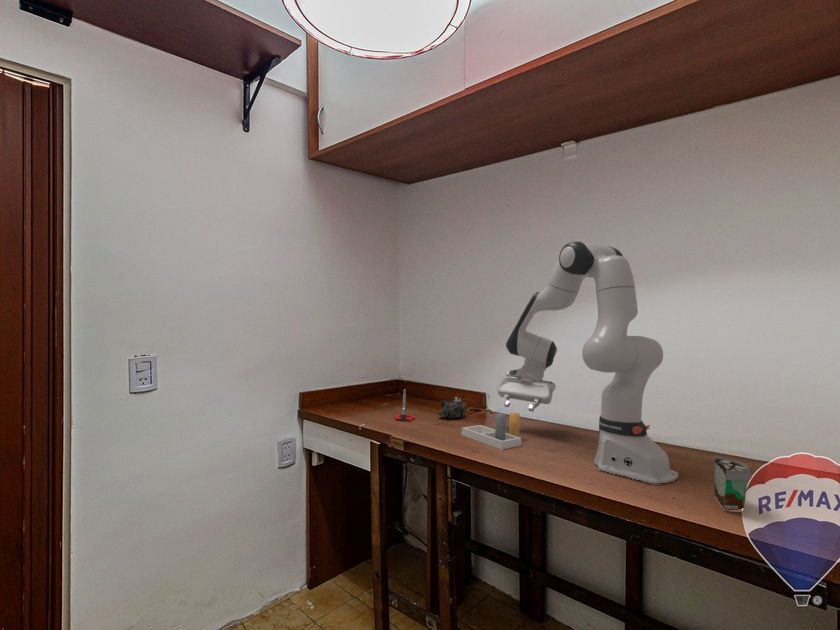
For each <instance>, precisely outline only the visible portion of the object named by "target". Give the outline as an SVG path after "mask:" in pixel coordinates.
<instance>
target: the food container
mask: <svg viewBox="0 0 840 630" xmlns="http://www.w3.org/2000/svg"><path fill="white" fill-rule="evenodd" d="M713 464H714V466H713V468H714V469H713V471H714V472H713V473H714V475H713V483H714V484H713V495H714V494H715V496H716V497H717V499H718V501H719V502H720V504H721V505H722V506H723V508H724V509H725V510H726V509H727V510H738V509H742V508H744V509H745V505H746V496H747V488H748V482H749V481H748V480H750V479H752V473H751V470H750V467H749V465H747V464H745V463H743V462H742V461H739V460H735V459H731V458H727V457H723V456H717V455H715V456H714V457H713Z"/></svg>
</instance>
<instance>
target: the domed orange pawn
mask: <svg viewBox="0 0 840 630" xmlns="http://www.w3.org/2000/svg"><path fill="white" fill-rule="evenodd" d="M520 418H521V417H520V413H518V412H510V413H509V421H508V422H509V423H508V424H509V426H508V427H509V429H508V434H510V435H513V436H516V437H519V438H520V420H521V419H520Z"/></svg>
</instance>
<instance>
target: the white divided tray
mask: <svg viewBox="0 0 840 630" xmlns="http://www.w3.org/2000/svg"><path fill="white" fill-rule="evenodd" d="M461 436H463V437H467V438H468V439H470V440H474V441H476V442H479V443H482V444H485V445H487V446H491V447H493V448H496V449H498V450H501V451H503V450H507V449H512V448H518V447H522V437H520V436H519V437H516V436H513V435H510V434H509V433H507V432H506V436H505V440H503V441H501V440H499V439H496V438H495V429H494V428H491V427H489V426H486V425H485V426H484V425H481V424H478V425H471V426H465V427H461Z"/></svg>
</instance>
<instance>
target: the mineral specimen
mask: <svg viewBox="0 0 840 630" xmlns="http://www.w3.org/2000/svg"><path fill="white" fill-rule="evenodd" d="M440 405H441V407H442V408H441V409H440V410H438V411H437V412H436V413H437V414H438V415H439V416H440V417H441V418H442V419H448V420H450V419H456V418H458V419H459V418H464V417H465V415H464V414H466V411H465V410H466V409H468V408H467V404H466V402H464V401H462V400H461V397H459V396H455V397H454V399H453V400H451V399H450V400H449V401H448V400H447V399H446V400H445V399H441V401H440Z"/></svg>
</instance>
